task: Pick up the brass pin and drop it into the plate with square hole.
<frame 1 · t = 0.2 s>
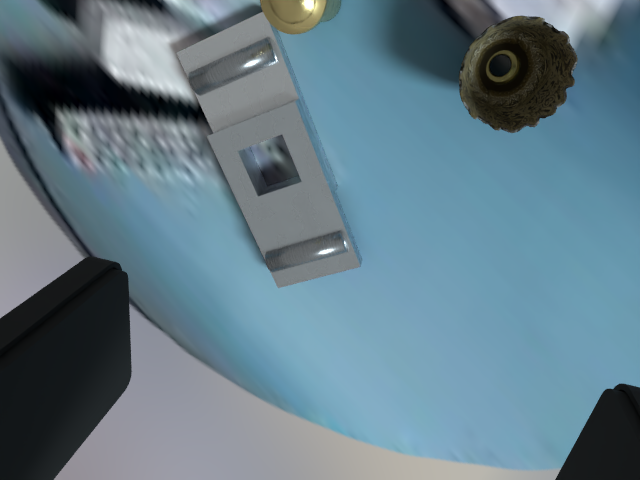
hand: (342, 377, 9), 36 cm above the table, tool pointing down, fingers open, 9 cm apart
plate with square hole: (278, 157, 46), on the table
brass pin: (322, 0, 40), on the table
cup: (499, 65, 40), on the table
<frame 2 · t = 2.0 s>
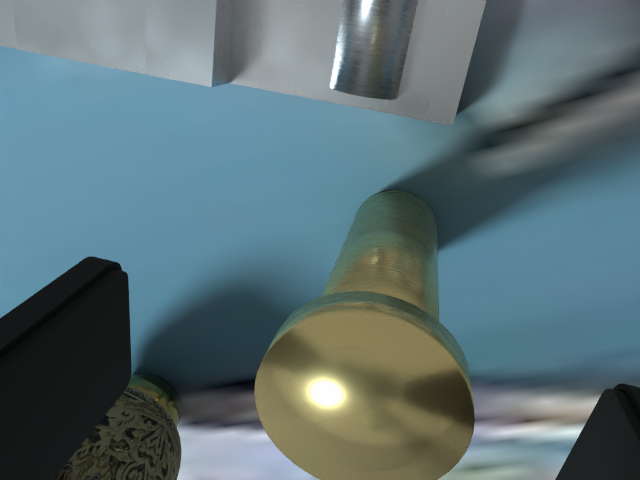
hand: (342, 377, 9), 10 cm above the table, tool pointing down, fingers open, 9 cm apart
brass pin: (394, 229, 19), on the table
cup: (155, 394, 25), on the table
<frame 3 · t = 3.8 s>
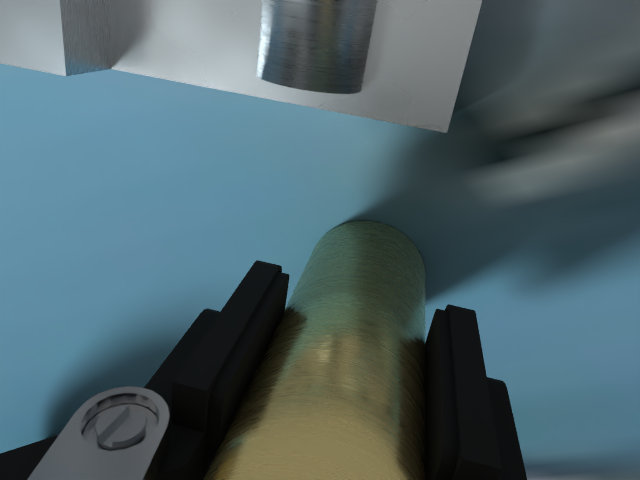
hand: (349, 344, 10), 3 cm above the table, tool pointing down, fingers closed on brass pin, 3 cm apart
brass pin: (366, 273, 13), on the table, touching gripper
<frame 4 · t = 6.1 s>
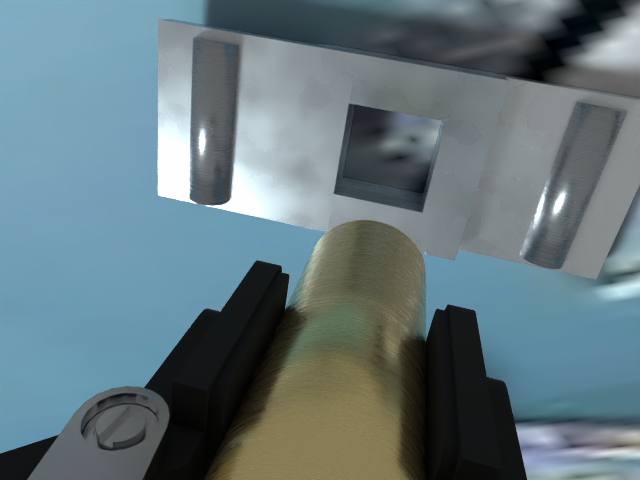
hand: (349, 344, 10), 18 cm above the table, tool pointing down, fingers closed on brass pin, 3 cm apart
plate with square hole: (391, 145, 26), on the table
brass pin: (366, 273, 13), point 14 cm above the table, touching gripper
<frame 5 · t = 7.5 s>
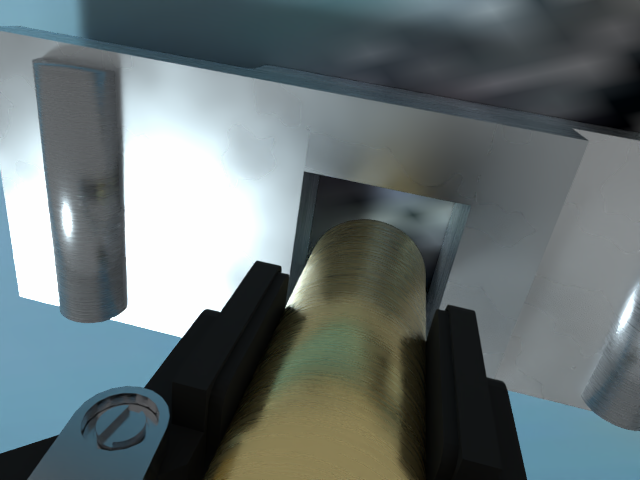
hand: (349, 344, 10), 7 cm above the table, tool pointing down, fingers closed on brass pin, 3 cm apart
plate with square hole: (378, 222, 17), on the table
brass pin: (366, 273, 13), point 4 cm above the table, touching gripper
when the fingers open (5 cm above the table, at t = 8.6 s): brass pin drops 1 cm, resting in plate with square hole.
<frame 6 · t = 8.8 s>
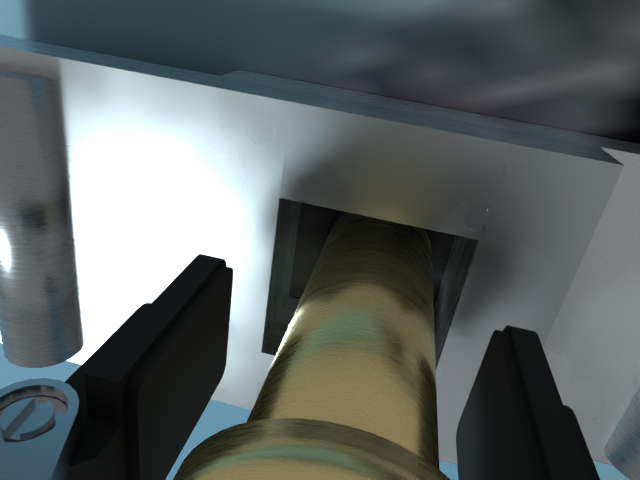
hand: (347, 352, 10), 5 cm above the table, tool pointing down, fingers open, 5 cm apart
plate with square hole: (370, 250, 15), on the table
brass pin: (377, 253, 15), resting in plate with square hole
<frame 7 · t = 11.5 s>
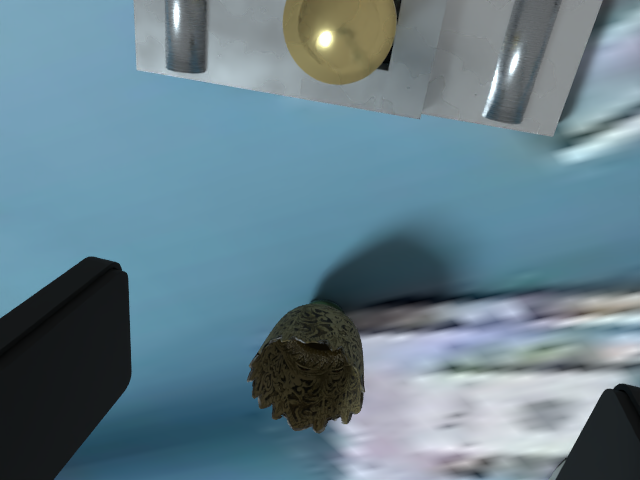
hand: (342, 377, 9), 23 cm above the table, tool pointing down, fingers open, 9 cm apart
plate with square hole: (358, 15, 27), on the table
brass pin: (362, 16, 27), resting in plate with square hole
cup: (325, 314, 37), on the table
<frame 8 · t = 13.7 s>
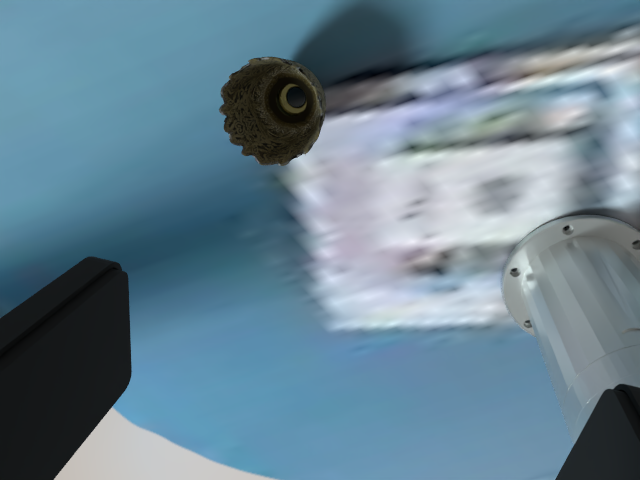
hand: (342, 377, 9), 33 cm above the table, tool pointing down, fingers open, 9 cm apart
cup: (297, 96, 41), on the table
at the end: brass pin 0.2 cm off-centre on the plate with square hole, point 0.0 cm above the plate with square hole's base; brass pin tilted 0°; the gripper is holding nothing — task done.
